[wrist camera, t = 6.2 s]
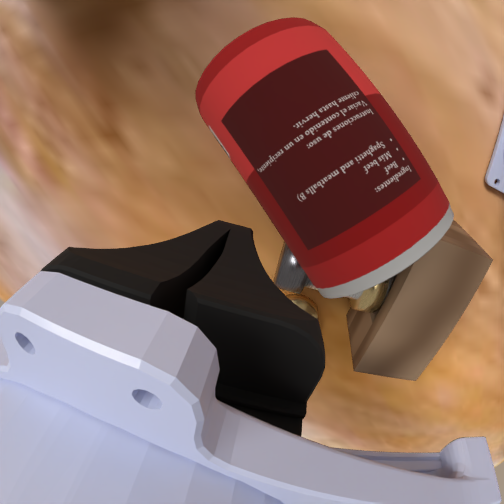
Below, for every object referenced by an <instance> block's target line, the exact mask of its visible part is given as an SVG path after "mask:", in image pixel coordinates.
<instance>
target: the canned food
mask: <svg viewBox="0 0 504 504" xmlns="http://www.w3.org/2000/svg"><path fill="white" fill-rule="evenodd" d="M196 102H197V105H198V108H199V112H200V115H201V117H202V119H203V120H204V122H205V123H206V125H207V126H208V127H209V129H210V130H211V132H212V133H213V135H214V136H215V138H216V139H217V140H218V142H219V143H220V145H221V146H222V148H223V149H224V151H225V152H226V154H227V155H228V157H229V158H230V159H231V161H232V162H233V164H234V165H235V167H236V168H237V170H238V171H239V173H240V174H241V176H242V177H243V179H244V180H245V182H246V183H247V185H248V186H249V188H250V189H251V191H252V192H253V194H254V195H255V197H256V198H257V200H258V201H259V203H260V204H261V206H262V207H263V209H264V210H265V212H266V213H267V215H268V216H269V218H270V219H271V221H272V223H273V224H274V226H275V227H276V229H277V230H278V232H279V233H280V235H281V236H282V238H283V239H284V241H285V243H286V244H287V246H288V247H289V249H290V250H291V252H292V253H293V255H294V257H295V258H296V260H297V261H298V263H299V264H300V266H301V267H302V269H303V270H304V271H305V273H306V274H307V276H308V278H309V279H310V281H311V282H312V284H313V285H314V286H315V287H316V288H317V289H318V291H319V292H320V294H321V295H322V296H323V297H325V298H341V297H345V296H349V295H353V294H356V293H359V292H362V291H364V290H367V289H370V288H372V287H374V286H376V285H378V284H380V283H382V282H384V281H386V280H388V279H390V278H392V277H393V276H395V275H397V274H398V273H400V272H402V271H403V270H405V269H406V268H408V267H409V266H410V265H412V264H413V263H415V262H416V261H418V260H419V259H420V258H421V257H422V256H424V255H425V254H426V253H427V252H428V251H430V250H431V249H432V248H433V247H434V246H435V245H436V244H437V243H438V242H439V241H440V239H441V238H442V237H443V236H444V234H445V233H446V232H447V230H448V229H449V228H450V226H451V224H452V221H453V217H454V214H453V212H452V210H451V207H450V203H449V201H448V199H447V197H446V195H445V194H444V192H443V190H442V188H441V186H440V184H439V182H438V180H437V178H436V176H435V175H434V173H433V171H432V170H431V168H430V166H429V165H428V163H427V161H426V160H425V158H424V156H423V155H422V153H421V151H420V150H419V148H418V147H417V145H416V144H415V142H414V141H413V139H412V137H411V136H410V134H409V133H408V131H407V130H406V128H405V127H404V126H403V124H402V123H401V121H400V120H399V118H398V117H397V116H396V114H395V113H394V111H393V110H392V109H391V107H390V106H389V104H388V103H387V102H386V100H385V99H384V98H383V96H382V95H381V94H380V92H379V91H378V90H377V89H376V87H375V86H374V85H373V84H372V82H371V81H370V80H369V79H368V77H367V76H366V75H365V74H364V72H363V71H362V70H361V69H360V68H359V66H358V65H357V64H356V63H355V62H354V60H353V59H352V58H351V57H350V56H349V55H348V54H347V52H346V51H345V50H344V49H343V48H342V47H341V46H340V45H339V44H338V42H337V41H336V40H335V39H334V38H333V37H332V36H331V35H330V34H329V33H328V32H327V31H326V30H325V29H323V28H322V27H320V26H318V25H317V24H315V23H313V22H311V21H309V20H306V19H303V18H284V19H278V20H274V21H271V22H267V23H264V24H262V25H260V26H257V27H255V28H253V29H251V30H249V31H247V32H246V33H244V34H242V35H241V36H239V37H237V38H236V39H235V40H233V41H232V42H231V43H229V44H228V45H227V46H226V47H224V48H223V49H222V50H221V51H220V52H219V53H218V54H217V55H216V56H215V57H214V58H213V59H212V61H211V62H210V63H209V65H208V66H207V67H206V69H205V70H204V72H203V74H202V76H201V78H200V80H199V81H198V85H197V88H196Z"/></svg>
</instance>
